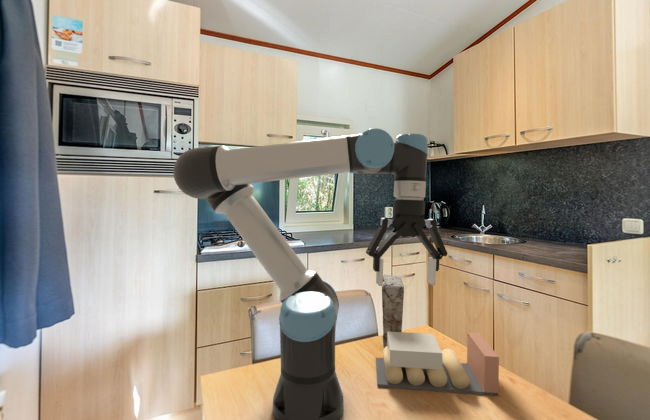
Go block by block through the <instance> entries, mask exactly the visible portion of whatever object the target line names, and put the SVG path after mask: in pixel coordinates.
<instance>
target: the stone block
mask: <svg viewBox="0 0 650 420" xmlns="http://www.w3.org/2000/svg"><path fill="white" fill-rule="evenodd" d="M404 298H405V288H404V283H403V280H402V277H401V276H400V275H399V276H397V275H390V274H383V285H382V286H381V300H382V301H381V306H382V307H381V309H382V329H383V331H382V332H383V333H382V335H383V336H382V344H383V349H384V348H385V347H386V346H387V332H402V330H403V316H404V315H403V314H404Z"/></svg>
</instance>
